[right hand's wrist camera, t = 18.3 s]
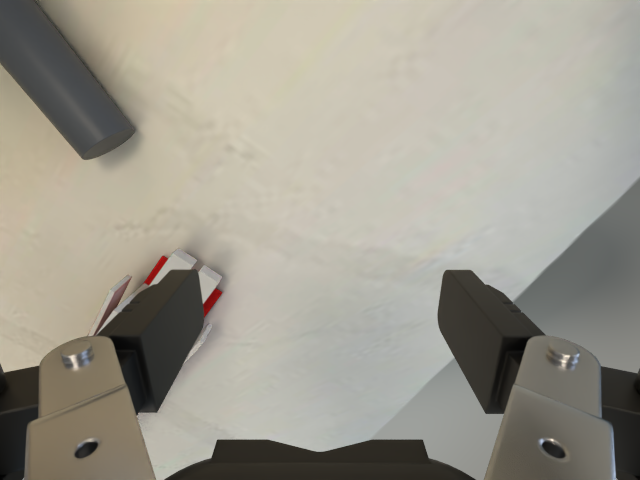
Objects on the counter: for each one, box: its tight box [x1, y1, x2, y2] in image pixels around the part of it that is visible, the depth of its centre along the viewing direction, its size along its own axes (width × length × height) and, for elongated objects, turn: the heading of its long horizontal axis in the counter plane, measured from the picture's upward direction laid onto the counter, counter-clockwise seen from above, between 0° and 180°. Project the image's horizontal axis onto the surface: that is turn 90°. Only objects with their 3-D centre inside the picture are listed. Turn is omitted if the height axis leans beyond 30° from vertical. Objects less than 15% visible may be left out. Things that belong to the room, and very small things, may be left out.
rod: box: [0, 0, 135, 160], centre depth 33 cm, size 26×6×6 cm, turn 32°
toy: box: [88, 248, 222, 366], centre depth 44 cm, size 12×13×30 cm
